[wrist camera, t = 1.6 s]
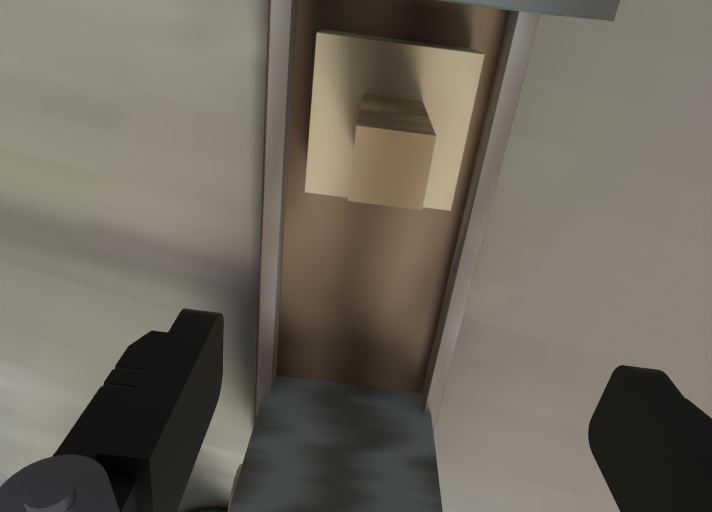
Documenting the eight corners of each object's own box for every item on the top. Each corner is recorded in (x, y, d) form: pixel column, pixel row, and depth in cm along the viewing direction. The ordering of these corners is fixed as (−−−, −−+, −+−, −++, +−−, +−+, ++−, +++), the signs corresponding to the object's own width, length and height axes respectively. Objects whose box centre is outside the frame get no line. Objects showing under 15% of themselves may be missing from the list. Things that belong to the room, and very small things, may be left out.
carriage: (474, 48, 27) (520, 74, 18) (444, 192, 30) (470, 272, 22) (323, 28, 27) (293, 44, 18) (311, 175, 30) (282, 248, 21)
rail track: (564, -122, 25) (733, -232, 13) (421, 455, 43) (437, 632, 31) (280, -160, 25) (184, -308, 13) (257, 435, 43) (208, 605, 31)
